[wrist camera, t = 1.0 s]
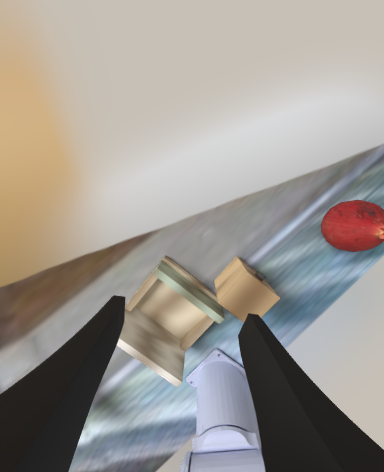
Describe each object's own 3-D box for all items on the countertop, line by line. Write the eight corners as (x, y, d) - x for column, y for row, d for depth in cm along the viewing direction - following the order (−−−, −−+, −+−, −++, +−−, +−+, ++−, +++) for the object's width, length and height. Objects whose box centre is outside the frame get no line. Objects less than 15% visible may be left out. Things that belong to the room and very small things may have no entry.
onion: (306, 204, 24) (358, 206, 16) (351, 196, 24) (427, 194, 16) (308, 246, 25) (358, 266, 17) (352, 239, 25) (423, 257, 17)
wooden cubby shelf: (223, 299, 27) (230, 333, 20) (182, 343, 29) (177, 387, 22) (165, 255, 26) (153, 274, 19) (127, 303, 28) (103, 336, 21)
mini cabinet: (265, 273, 26) (284, 294, 20) (239, 300, 27) (250, 327, 21) (239, 252, 26) (250, 267, 20) (214, 280, 27) (218, 303, 21)
